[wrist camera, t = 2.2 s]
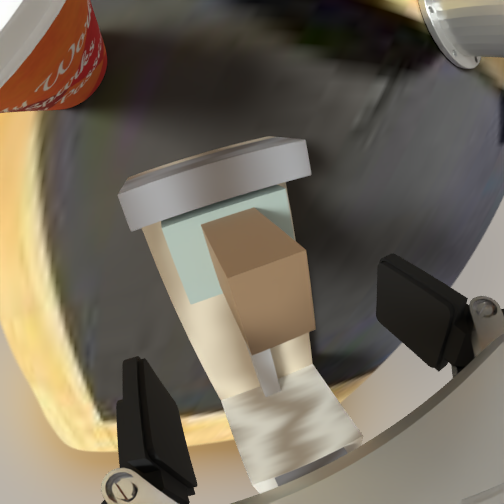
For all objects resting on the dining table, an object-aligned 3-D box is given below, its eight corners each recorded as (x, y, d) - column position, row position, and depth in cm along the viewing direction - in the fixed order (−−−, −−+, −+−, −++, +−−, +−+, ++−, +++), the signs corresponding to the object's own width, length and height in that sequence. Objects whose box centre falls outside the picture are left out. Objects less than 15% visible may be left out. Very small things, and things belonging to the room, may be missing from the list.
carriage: (264, 178, 19) (349, 221, 11) (278, 245, 21) (353, 319, 13) (160, 211, 18) (167, 285, 9) (184, 278, 20) (211, 378, 12)
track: (268, 136, 20) (410, 158, 8) (310, 387, 33) (364, 469, 21) (128, 177, 18) (83, 258, 6) (233, 418, 31) (270, 510, 19)
